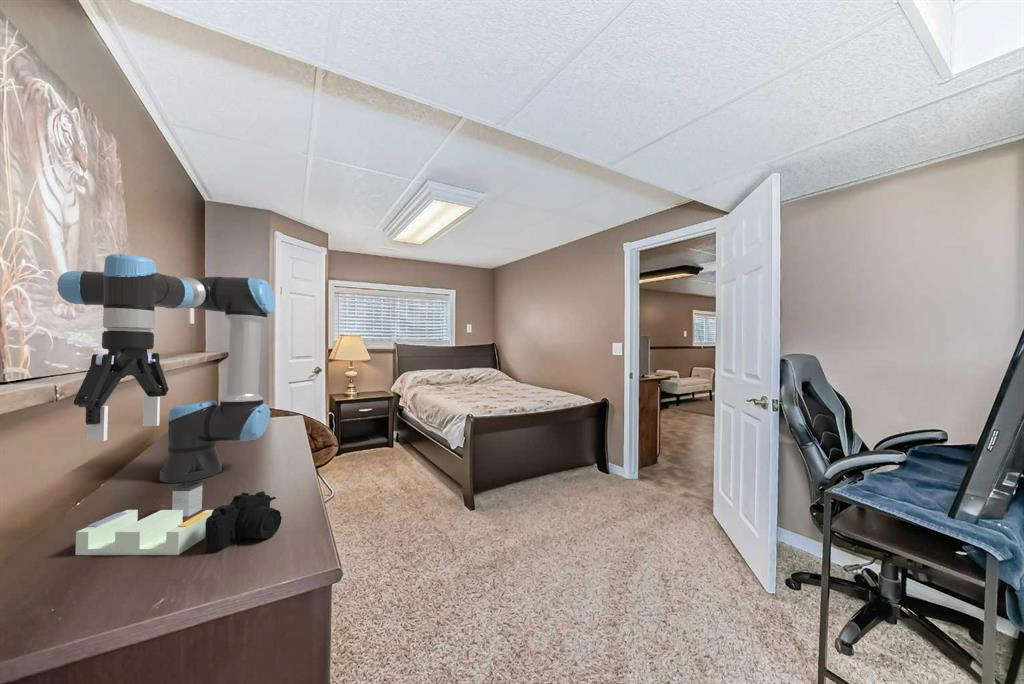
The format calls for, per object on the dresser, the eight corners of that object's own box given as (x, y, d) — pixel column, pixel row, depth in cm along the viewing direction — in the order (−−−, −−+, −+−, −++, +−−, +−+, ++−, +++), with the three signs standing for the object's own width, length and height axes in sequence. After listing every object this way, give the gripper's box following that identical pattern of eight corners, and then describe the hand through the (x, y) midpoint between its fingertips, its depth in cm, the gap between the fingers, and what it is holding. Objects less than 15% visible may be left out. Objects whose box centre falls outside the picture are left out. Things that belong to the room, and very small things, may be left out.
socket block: (126, 530, 84) (126, 508, 84) (216, 530, 84) (217, 508, 84) (75, 555, 74) (76, 530, 74) (178, 555, 74) (178, 530, 74)
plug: (185, 509, 95) (186, 481, 95) (202, 509, 95) (203, 481, 95) (171, 516, 91) (171, 487, 91) (188, 516, 91) (189, 487, 91)
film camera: (236, 559, 73) (237, 514, 73) (196, 553, 75) (197, 509, 75) (295, 524, 88) (296, 486, 88) (261, 519, 90) (262, 482, 90)
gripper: (153, 332, 89) (150, 421, 88) (44, 326, 64) (41, 449, 64) (189, 332, 90) (186, 420, 90) (96, 327, 66) (93, 448, 65)
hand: (126, 432), depth 77 cm, fingers open, 13 cm apart
